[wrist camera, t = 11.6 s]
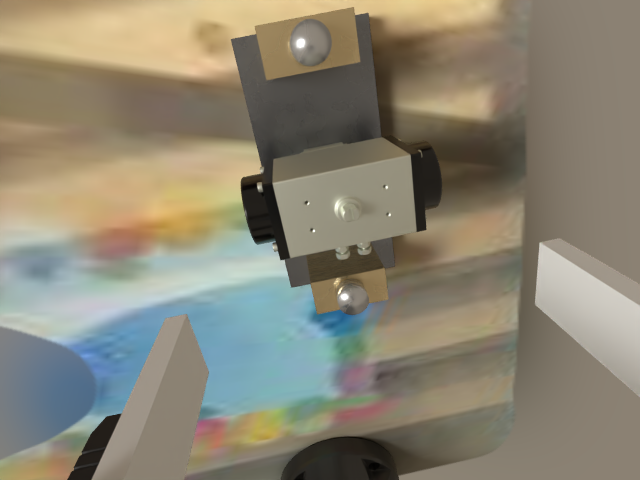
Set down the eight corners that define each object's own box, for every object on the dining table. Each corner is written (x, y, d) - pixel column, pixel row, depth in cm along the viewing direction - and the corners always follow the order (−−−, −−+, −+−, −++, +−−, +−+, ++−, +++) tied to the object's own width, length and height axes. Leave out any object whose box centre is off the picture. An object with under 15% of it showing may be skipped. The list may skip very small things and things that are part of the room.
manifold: (390, 259, 37) (418, 304, 30) (290, 279, 37) (294, 330, 30) (363, 15, 28) (393, -4, 21) (233, 40, 28) (217, 30, 21)
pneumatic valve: (248, 151, 30) (232, 196, 19) (392, 122, 30) (456, 151, 19) (265, 215, 32) (259, 287, 22) (398, 188, 33) (458, 246, 22)
